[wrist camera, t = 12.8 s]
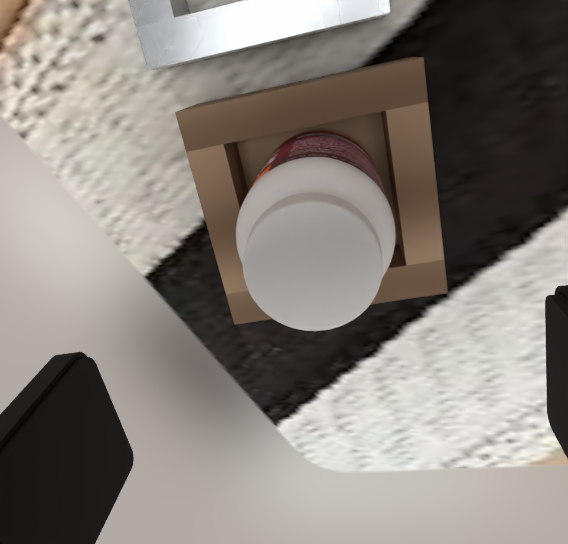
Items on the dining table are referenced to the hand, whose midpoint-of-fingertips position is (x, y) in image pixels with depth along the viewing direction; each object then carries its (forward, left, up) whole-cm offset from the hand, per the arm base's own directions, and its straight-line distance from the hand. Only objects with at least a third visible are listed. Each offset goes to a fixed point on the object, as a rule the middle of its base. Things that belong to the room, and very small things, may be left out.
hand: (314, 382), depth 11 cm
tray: (0, 0, -19) cm, 19 cm away
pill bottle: (0, 0, -18) cm, 18 cm away
